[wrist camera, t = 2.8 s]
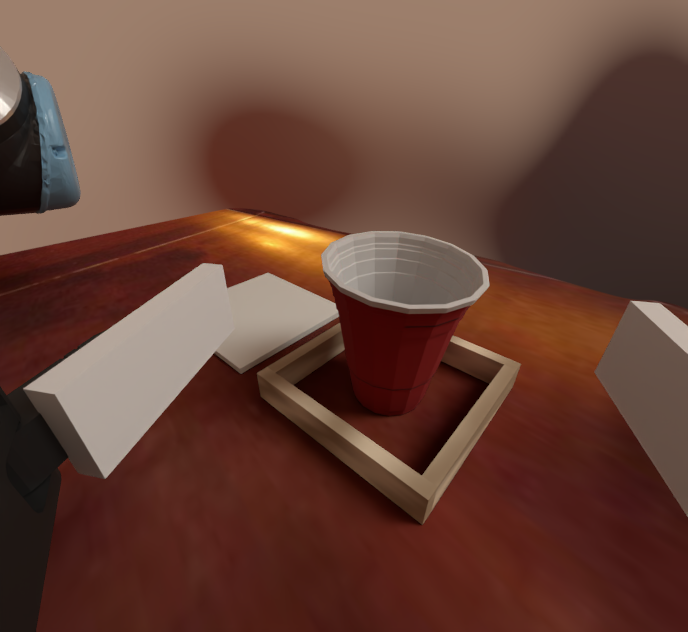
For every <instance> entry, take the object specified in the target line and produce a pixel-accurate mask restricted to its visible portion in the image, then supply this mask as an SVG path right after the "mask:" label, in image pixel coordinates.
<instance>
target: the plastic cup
mask: <svg viewBox="0 0 688 632" xmlns="http://www.w3.org/2000/svg"><path fill="white" fill-rule="evenodd" d="M321 256H322V264H323V271H324V274H325V277H326V278H327V279H328V280H329V282H330V285H331V287H332V291H333V296H334V297H335V303H336V309H337V310H338V314H339V319H340V325H341V331H342V337H343V342H344V348H345V354H346V359H347V365H348V368H349V370H350V376H351V382H352V387H353V392H354V393H355V397H356V398H357V399H358V401H359V402H360V403H361V404H362V406H364V407H365V408H367V409H369V410H370V411H372V412H374V413H378V414H382V415H387V416H393V415H403V414H405V413H407V412H409V411H412V410H414V409H415V407H416V406H417V405H418V404H419V402H420V401H421V399H422V398H423V397H424V395H425V393H426V390H427V388H428V386H429V383H430V381H431V379H432V376H433V375H434V374H435V373H436V370H437V368H438V366H439V364H440V362H441V360H442V358H443V355H444V353H445V351H446V349H447V347H448V345H449V342H450V340H451V338H452V336H453V334H454V332H455V329H456V327H457V325H458V323H459V321H460V320H461V319H462V318H463V316H464V314H465V312H466V310H467V309H468V308H469V307H470V305H473V304H474V303H475V302H476V301H477V299H478V298H479V297H480V296H481V295H482V294H483V293H484V292H485V291H486V290H487V288H488V287H489V278H488V271H487V269H486V268H485V267H484V266H483V265H482V264H481V263H480V262H479V261H478V260H477V259H476V258H475V257H474V256H473V255H471V254H469V253H468V252H466V251H464V250H462V249H460V248H458V247H457V246H455V245H453V244H450V243H447V242H444V241H441V240H438V239H435V238H432V237H429V236H424V235H417V234H411V233H405V232H395V231H371V232H364V233H358V234H351V235H348V236H346V237H343V238H341V239H339V240H336V241H334V242H332V243H331V244H330V245H329V246H328V247H327V248H326V250H325V251H324V252H323V253H322V255H321Z"/></svg>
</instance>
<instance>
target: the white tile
mask: <svg viewBox="0 0 688 632" xmlns="http://www.w3.org/2000/svg"><path fill="white" fill-rule="evenodd" d="M227 292H228V297H229V302H230V307H231V312H232V317H233V322H234V327H235V329H234V330H233V331H232V333H231V334H230V335H229V336H228V337H227V338H226V340H225V341H224V342H223V343H222V344H221V345H220V347H219V348H218V349H217V350H216V351H215V352H214V354H216V355H217V356H218V357H220V358H221V359H222V360H223V361H225V362H226V363H227V364H229V365H230V366H231V367H232V368H234V369H235V370H236V371H238V372H239V373H240V374H242V373H243V372H245V371H247V370H249V369H250V368H252V367H254V366H255V365H257V364H259V363H260V362H262V361H264V360H266V359H267V358H269V357H271V356H272V355H274V354H276V353H277V352H279V351H281V350H283V349H284V348H286V347H288V346H289V345H291V344H293V343H294V342H296V341H298V340H300V339H301V338H303V337H305V336H306V335H308V334H310V333H311V332H313V331H315V330H317V329H318V328H320V327H322V326H323V325H325V324H327V323H328V322H330V321H332V320H334V319H335V318H337V317H339V314H338V310H337V309H336V304H335V303H333V302H331V301H329V300H327V299H324V298H322V297H320V296H318V295H316V294H313V293H311V292H309V291H307V290H305V289H302V288H300V287H298V286H296V285H294V284H292V283H289V282H287V281H285V280H283V279H281V278H278V277H276V276H274V275H272V274H270V273H266V274H264V275H261V276H258V277H256V278H253V279H251V280H248V281H246V282H243V283H240V284H238V285H235V286H233V287H230V288H228V289H227Z"/></svg>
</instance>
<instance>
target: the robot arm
mask: <svg viewBox="0 0 688 632" xmlns="http://www.w3.org/2000/svg"><path fill="white" fill-rule="evenodd" d="M79 199H80V187H79V182H78V177H77V173H76V169H75V165H74V161H73V157H72V154H71V149H70V146H69V142H68V138H67V135H66V131H65V128H64V124H63V121H62V117H61V114H60V110H59V107H58V104H57V100H56V97H55V94H54V91H53V88H52V86H51V85H50V83H49V81H48V80H47V79H45V78H44V77H42V76H39V75H33V74H32V73H30V72H22V74H20V73H19V72H18V70H17V68H16V66H15V65H14V63H13V62H12V60H11V59H10V57H9V56H8V54H7V53H6V52H5V51H4V50H3V49H2V48H1V47H0V216H1V215H14V214H26V213H44V212H45V211H47V210H54V209H61V208H68V207H71V206H74V205H75V204H76V203H77V202H78V201H79ZM234 329H235V327H234V322H233V317H232V312H231V307H230V302H229V297H228V292H227V287H226V281H225V276H224V271H223V266H222V265H217V264H206V263H203V264H201V265H200V266H198V267H197V268H195V269H194V270H193V271H191V272H190V273H188V274H187V275H185V276H184V277H183V278H181V279H180V280H178V281H177V282H175V283H174V284H172V285H171V286H170V287H168V288H167V289H165V290H164V291H162V292H161V293H160V294H158V295H157V296H155V297H154V298H152V299H151V300H150V301H148V302H147V303H145V304H144V305H142V306H141V307H139V308H138V309H137V310H135V311H134V312H132V313H131V314H129V315H128V316H127V317H125V318H124V319H122V320H121V321H119V322H118V323H117V324H115V325H114V326H112V327H111V328H109V329H108V330H105V331H103V332H101V333H99V334H96V335H94V336H93V337H91V338H90V339H88V340H87V341H85V342H84V343H82V344H81V345H79V346H78V348H77V349H74V350H72V351H71V352H69V353H68V354H66V355H65V356H64V358H63V359H59V360H58V361H56V362H55V363H53V364H52V365H50V366H49V367H47V368H46V369H45V370H43V371H42V372H40V373H39V374H37V375H36V376H34V377H33V378H31V379H30V380H28V381H27V382H26V383H24V384H23V385H21V386H20V387H18V388H17V389H15V390H14V391H12V392H11V393H10V394H8V395H6V394H5V393H4V391H3V390H2V388H1V387H0V632H36V627H37V621H38V615H39V609H40V603H41V597H42V591H43V585H44V580H45V574H46V568H47V562H48V556H49V550H50V544H51V538H52V532H53V526H54V520H55V514H56V508H57V502H58V496H59V490H60V485H61V474H60V471H59V470H58V468H57V467H58V466H59V465H60V464H61V463H63V462H64V461H65V460H66V459H67V458H69V460H70V461H71V463H72V464H73V466H74V467H75V469H76V471H77V472H78V473H80V474H85V475H89V476H94V477H99V478H103V479H106V478H107V476H108V475H109V474H110V473H111V472H112V471H113V470H114V468H115V467H116V466H117V465H118V464H119V463H120V461H121V460H122V459H123V458H124V457H125V456H126V454H127V453H128V452H129V451H130V450H131V449H132V447H133V446H134V445H135V444H136V443H137V442H138V441H139V439H140V438H141V437H142V436H143V435H144V434H145V432H146V431H147V430H148V429H149V428H150V427H151V425H152V424H153V423H154V422H155V421H156V420H157V418H158V417H159V416H160V415H161V414H162V413H163V412H164V410H165V409H166V408H167V407H168V406H169V405H170V403H171V402H172V401H173V400H174V399H175V398H176V396H177V395H178V394H179V393H180V392H181V391H182V389H183V388H184V387H185V386H186V385H187V384H188V382H189V381H190V380H191V379H192V378H193V377H194V376H195V374H196V373H197V372H198V371H199V370H200V369H201V367H202V366H203V365H204V364H205V363H206V362H207V360H208V359H209V358H210V357H211V356H212V355H213V353H214V352H215V351H216V350H217V349H218V348H219V347H220V345H221V344H222V343H223V342H224V341H225V340H226V338H227V337H228V336H229V335H230V334H231V333H232V331H233V330H234ZM595 374H596V375H597V377H598V379H599V380H600V382H601V383H602V385H603V386H604V388H605V389H606V391H607V392H608V394H609V396H610V397H611V399H612V400H613V402H614V403H615V405H616V406H617V408H618V410H619V411H620V413H621V414H622V416H623V417H624V419H625V420H626V422H627V423H628V425H629V427H630V428H631V430H632V431H633V433H634V434H635V436H636V437H637V439H638V440H639V442H640V444H641V445H642V447H643V448H644V450H645V451H646V453H647V454H648V456H649V458H650V459H651V461H652V462H653V464H654V465H655V467H656V468H657V470H658V471H659V473H660V475H661V476H662V478H663V479H664V481H665V482H666V484H667V485H668V487H669V489H670V490H671V492H672V493H673V495H674V496H675V498H676V499H677V501H678V502H679V504H680V506H681V507H682V509H683V510H684V512H685V513H686V515H687V516H688V326H687V325H685V324H684V323H683V322H682V321H681V320H679V319H678V318H677V317H676V316H675V315H673V314H672V313H671V312H670V311H668V310H667V309H666V308H665V307H664V306H662V305H661V304H660V303H650V302H638V301H630V303H629V305H628V307H627V309H626V311H625V313H624V315H623V317H622V319H621V321H620V323H619V325H618V327H617V329H616V331H615V333H614V335H613V337H612V339H611V341H610V343H609V345H608V346H607V348H606V350H605V352H604V354H603V356H602V358H601V360H600V362H599V364H598V366H597V368H596V370H595Z"/></svg>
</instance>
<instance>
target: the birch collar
mask: <svg viewBox="0 0 688 632" xmlns="http://www.w3.org/2000/svg"><path fill="white" fill-rule="evenodd" d="M344 350H345V348H344V342H343V337H342V331H341V325H340V323H339V324H337V325H335V326H334V327H332V328H330V329H329V330H327V331H326V332H324V333H322V334H321V335H319V336H317V337H316V338H314V339H312V340H311V341H309V342H307V343H306V344H304V345H302V346H301V347H299V348H298V349H296V350H294V351H293V352H291V353H289V354H288V355H286V356H284V357H283V358H281V359H279V360H278V361H276V362H274V363H273V364H271V365H270V366H268V367H266V368H265V369H263V370H261V371H260V372H258V373H257V378H258V384H259V390H260V396H261V397H262V398H263V399H264V400H266V401H267V402H268V403H269V404H271V405H272V406H273V407H274V408H276V409H277V410H278V411H280V412H281V413H282V414H283V415H285V416H286V417H287V418H288V419H290V420H291V421H292V422H293V423H295V424H296V425H297V426H298V427H300V428H301V429H302V430H303V431H305V432H306V433H307V434H308V435H310V436H311V437H312V438H313V439H315V440H316V441H317V442H319V443H320V444H321V445H322V446H324V447H325V448H326V449H327V450H329V451H330V452H331V453H332V454H334V455H335V456H336V457H337V458H339V459H340V460H341V461H342V462H344V463H345V464H346V465H347V466H349V467H350V468H351V469H353V470H354V471H355V472H356V473H358V474H359V475H360V476H361V477H363V478H364V479H365V480H366V481H368V482H369V483H370V484H371V485H373V486H374V487H375V488H376V489H378V490H379V491H380V492H381V493H383V494H384V495H385V496H386V497H388V498H389V499H390V500H392V501H393V502H394V503H395V504H397V505H398V506H399V507H400V508H402V509H403V510H404V511H405V512H407V513H408V514H409V515H410V516H412V517H413V518H414V519H415V520H417V521H418V522H419V523H420V524H422V525H423V523H424V522H425V520H426V519H427V517H428V516H429V514H430V513H431V511H432V509H433V508H434V506H435V505H436V503H437V502H438V500H439V499H440V497H441V496H442V494H443V493H444V491H445V490H446V488H447V486H448V485H449V483H450V482H451V480H452V479H453V477H454V476H455V474H456V473H457V471H458V470H459V468H460V467H461V465H462V464H463V462H464V460H465V459H466V457H467V456H468V454H469V453H470V451H471V450H472V448H473V447H474V445H475V444H476V442H477V441H478V439H479V437H480V436H481V434H482V433H483V431H484V430H485V428H486V427H487V425H488V424H489V422H490V421H491V419H492V418H493V416H494V414H495V413H496V411H497V410H498V408H499V407H500V405H501V404H502V402H503V401H504V399H505V398H506V396H507V395H508V393H509V391H510V390H511V388H512V387H513V384H514V382H515V379H516V376H517V374H518V371H519V368H520V365H521V364H520V363H517V362H515V361H513V360H510V359H508V358H506V357H503V356H501V355H498V354H496V353H494V352H491V351H489V350H486V349H484V348H482V347H479V346H477V345H474V344H472V343H470V342H467V341H465V340H463V339H460V338H458V337H455V336H452V338H451V340H450V342H449V345H448V347H447V349H446V351H445V353H444V355H443V358H442V360H441V361H442V362H444V363H446V364H448V365H451V366H453V367H455V368H457V369H459V370H461V371H463V372H465V373H467V374H470V375H472V376H474V377H476V378H478V379H480V380H482V381H484V382H486V383H489V386H488V387H487V388H486V390H485V391H484V393H483V394H482V395H481V397H480V398H479V399H478V401H477V402H476V403H475V405H474V406H473V407H472V409H471V410H470V411H469V413H468V414H467V415H466V417H465V418H464V419H463V421H462V422H461V424H460V425H459V426H458V428H457V429H456V430H455V432H454V433H453V434H452V436H451V437H450V438H449V440H448V441H447V442H446V444H445V445H444V446H443V448H442V449H441V451H440V452H439V453H438V455H437V456H436V457H435V459H434V460H433V461H432V463H431V464H430V465H429V467H428V468H427V469H426V471H425V472H424V473H423V475H422V476H421V475H420V474H419V473H417V472H416V471H414V470H413V469H411V468H410V467H409V466H407V465H406V464H404V463H403V462H401V461H400V460H399V459H397V458H396V457H394V456H393V455H392V454H390V453H389V452H387V451H386V450H384V449H383V448H382V447H380V446H379V445H377V444H376V443H374V442H373V441H372V440H370V439H369V438H367V437H366V436H365V435H363V434H362V433H360V432H359V431H357V430H356V429H355V428H353V427H352V426H350V425H349V424H347V423H346V422H345V421H343V420H342V419H340V418H339V417H338V416H336V415H335V414H333V413H332V412H330V411H329V410H328V409H326V408H325V407H323V406H322V405H320V404H319V403H318V402H316V401H315V400H313V399H312V398H311V397H309V396H308V395H306V394H305V393H303V392H302V391H301V390H299V389H298V388H296V387H295V386H293V385H294V384H296V383H297V382H299V381H300V380H302V379H303V378H305V377H306V376H307V375H309V374H310V373H312V372H313V371H315V370H316V369H318V368H319V367H320V366H322V365H323V364H325V363H326V362H328V361H329V360H331V359H332V358H333V357H335V356H336V355H338V354H339V353H341V352H342V351H344Z"/></svg>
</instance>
